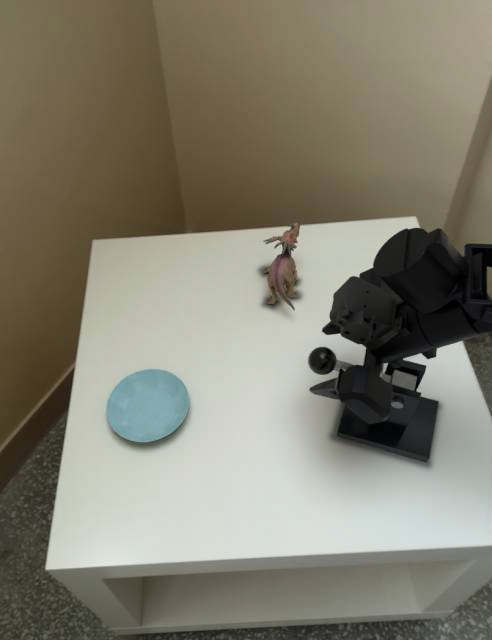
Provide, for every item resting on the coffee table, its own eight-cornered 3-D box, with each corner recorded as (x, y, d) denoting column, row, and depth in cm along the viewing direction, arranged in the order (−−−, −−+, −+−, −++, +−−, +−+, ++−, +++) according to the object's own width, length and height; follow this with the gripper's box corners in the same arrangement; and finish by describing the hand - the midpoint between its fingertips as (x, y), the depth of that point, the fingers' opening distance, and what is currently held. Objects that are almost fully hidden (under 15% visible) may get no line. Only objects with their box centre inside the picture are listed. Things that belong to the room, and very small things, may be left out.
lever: (302, 375, 68) (306, 360, 65) (310, 353, 70) (314, 337, 67) (405, 407, 65) (415, 393, 62) (410, 383, 67) (419, 369, 64)
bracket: (336, 436, 72) (346, 394, 63) (351, 382, 77) (362, 336, 67) (426, 462, 69) (451, 423, 60) (436, 405, 74) (461, 360, 64)
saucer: (94, 429, 75) (89, 422, 73) (136, 366, 81) (133, 357, 79) (165, 461, 72) (163, 455, 70) (205, 392, 77) (203, 384, 76)
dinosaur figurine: (263, 257, 92) (263, 215, 84) (298, 257, 91) (300, 215, 83) (261, 319, 84) (261, 280, 76) (299, 320, 84) (302, 280, 76)
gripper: (394, 212, 57) (289, 269, 68) (374, 352, 47) (256, 391, 59) (450, 274, 62) (344, 317, 73) (443, 412, 52) (321, 437, 64)
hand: (318, 360), depth 67 cm, fingers open, 9 cm apart
